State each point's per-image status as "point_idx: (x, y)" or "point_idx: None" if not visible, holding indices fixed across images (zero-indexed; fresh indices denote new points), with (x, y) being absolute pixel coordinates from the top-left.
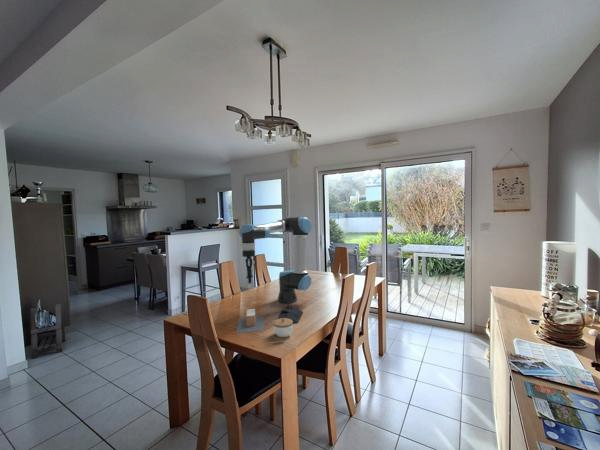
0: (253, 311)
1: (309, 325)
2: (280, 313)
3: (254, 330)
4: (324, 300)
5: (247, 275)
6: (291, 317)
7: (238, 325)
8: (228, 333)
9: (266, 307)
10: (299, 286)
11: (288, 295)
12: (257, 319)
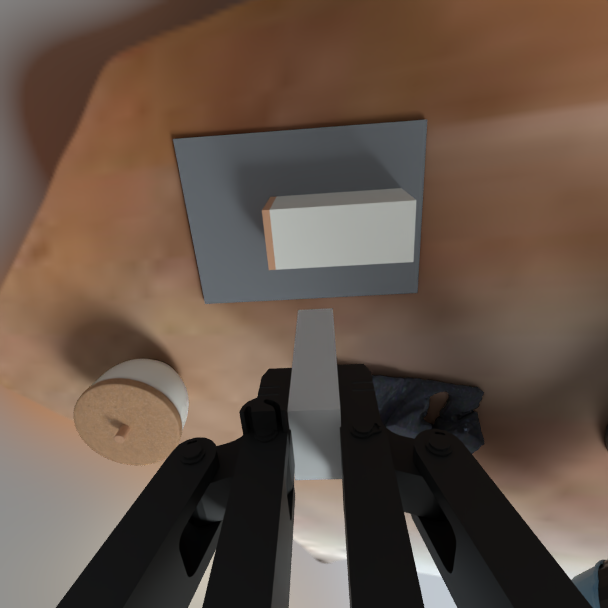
0: (356, 254)
1: None
2: (423, 383)
3: (203, 249)
4: None
5: (147, 486)
6: None
7: (290, 136)
8: (183, 79)
9: (597, 301)
10: (587, 597)
11: None
12: None
